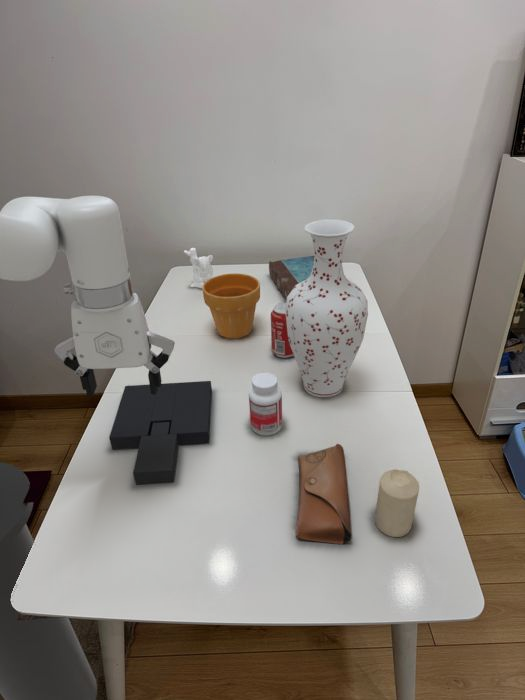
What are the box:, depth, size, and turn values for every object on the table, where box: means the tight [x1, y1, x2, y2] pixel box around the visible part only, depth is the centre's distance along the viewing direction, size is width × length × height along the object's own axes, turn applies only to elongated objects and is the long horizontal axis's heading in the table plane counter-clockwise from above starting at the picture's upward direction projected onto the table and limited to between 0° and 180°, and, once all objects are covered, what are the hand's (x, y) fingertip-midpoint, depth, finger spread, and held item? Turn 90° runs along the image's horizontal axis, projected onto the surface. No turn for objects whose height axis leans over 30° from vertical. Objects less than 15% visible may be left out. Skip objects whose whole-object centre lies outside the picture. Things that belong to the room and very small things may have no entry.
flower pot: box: [201, 272, 261, 339], centre depth 123 cm, size 14×14×13 cm
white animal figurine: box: [183, 247, 214, 290], centre depth 147 cm, size 8×7×12 cm
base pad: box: [108, 380, 213, 451], centre depth 97 cm, size 18×16×3 cm
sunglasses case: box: [295, 443, 353, 545], centre depth 79 cm, size 18×7×7 cm
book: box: [268, 255, 315, 301], centre depth 146 cm, size 23×18×5 cm
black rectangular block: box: [132, 422, 180, 486], centre depth 87 cm, size 6×12×3 cm, turn 3°
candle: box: [374, 468, 420, 538], centre depth 72 cm, size 6×6×10 cm
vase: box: [285, 218, 369, 398], centre depth 96 cm, size 16×16×35 cm
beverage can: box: [270, 302, 294, 359], centre depth 113 cm, size 6×6×12 cm
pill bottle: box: [248, 372, 283, 436], centre depth 92 cm, size 6×6×11 cm
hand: (123, 390), depth 76 cm, fingers open, 9 cm apart
